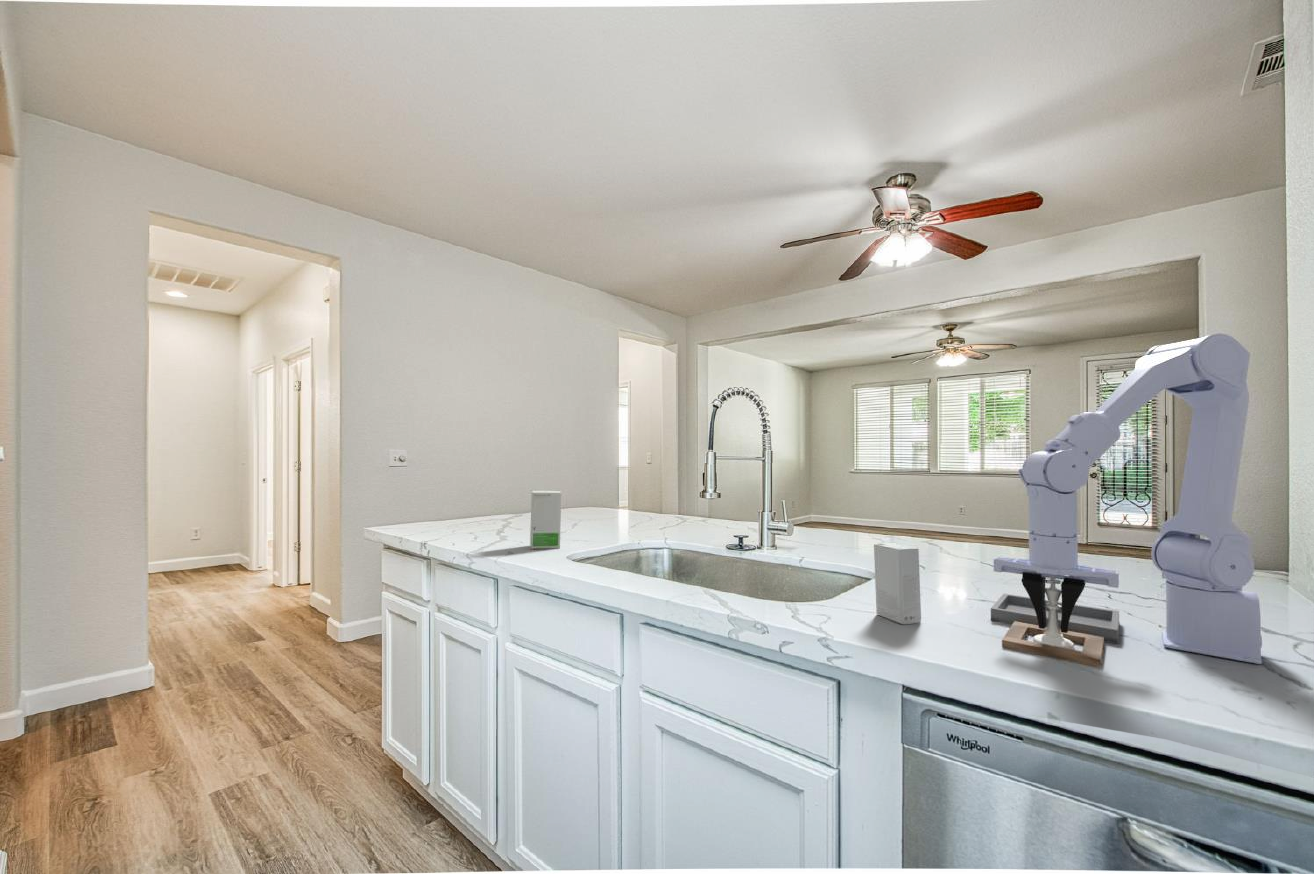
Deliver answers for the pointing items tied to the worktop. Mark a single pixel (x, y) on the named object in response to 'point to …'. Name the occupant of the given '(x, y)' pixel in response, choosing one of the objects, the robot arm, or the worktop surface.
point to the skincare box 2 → (897, 582)
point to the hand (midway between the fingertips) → (1053, 628)
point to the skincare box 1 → (545, 519)
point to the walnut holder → (1087, 656)
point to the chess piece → (1053, 620)
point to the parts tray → (1059, 616)
